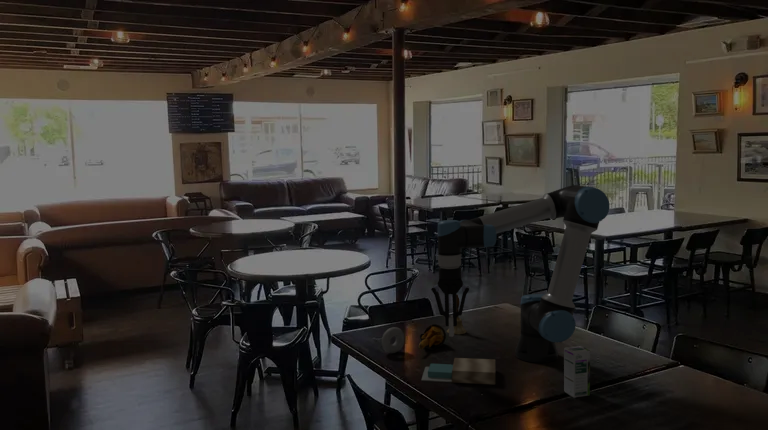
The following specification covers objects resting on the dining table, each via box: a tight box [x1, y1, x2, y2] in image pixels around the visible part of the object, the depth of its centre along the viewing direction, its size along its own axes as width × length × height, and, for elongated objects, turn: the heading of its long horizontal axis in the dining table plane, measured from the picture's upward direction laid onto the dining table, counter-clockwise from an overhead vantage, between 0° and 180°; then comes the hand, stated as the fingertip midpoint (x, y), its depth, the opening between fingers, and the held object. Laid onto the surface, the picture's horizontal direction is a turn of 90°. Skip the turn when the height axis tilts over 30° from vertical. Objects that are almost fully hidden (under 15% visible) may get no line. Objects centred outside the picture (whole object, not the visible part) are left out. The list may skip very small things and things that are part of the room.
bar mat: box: [421, 366, 453, 383], centre depth 216 cm, size 10×13×1 cm
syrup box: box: [563, 345, 591, 399], centre depth 196 cm, size 6×6×14 cm
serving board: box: [451, 357, 496, 385], centre depth 213 cm, size 14×13×4 cm
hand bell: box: [446, 293, 467, 336], centre depth 265 cm, size 8×8×16 cm
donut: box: [381, 326, 405, 354], centre depth 239 cm, size 10×3×10 cm, turn 125°
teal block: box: [428, 363, 453, 378], centre depth 215 cm, size 8×8×2 cm
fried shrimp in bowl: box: [417, 323, 447, 351], centre depth 243 cm, size 9×11×18 cm
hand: (451, 335), depth 214 cm, fingers closed
